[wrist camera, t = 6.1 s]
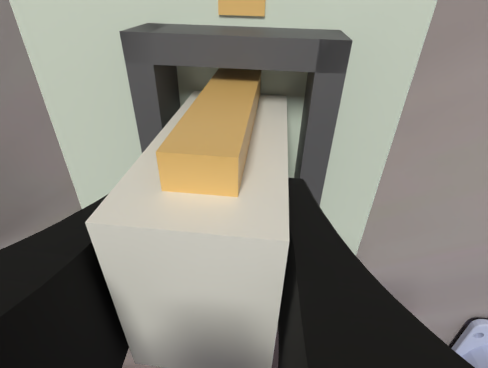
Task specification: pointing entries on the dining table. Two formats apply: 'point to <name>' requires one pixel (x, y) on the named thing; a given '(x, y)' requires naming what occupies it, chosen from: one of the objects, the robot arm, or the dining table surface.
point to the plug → (202, 231)
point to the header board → (234, 57)
